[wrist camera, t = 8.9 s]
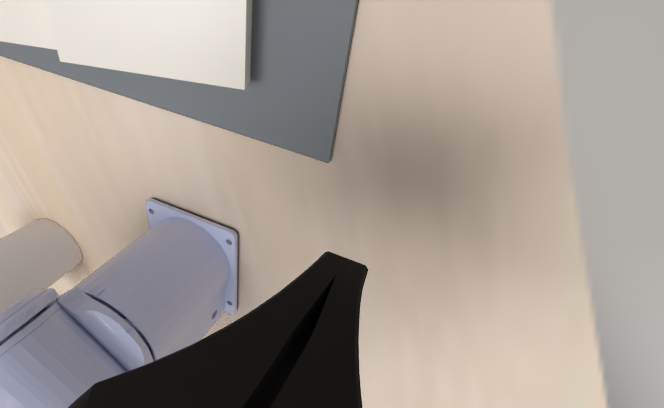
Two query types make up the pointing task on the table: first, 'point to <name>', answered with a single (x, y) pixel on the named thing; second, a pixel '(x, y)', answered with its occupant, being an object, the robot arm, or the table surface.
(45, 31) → the domino
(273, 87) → the felt mat
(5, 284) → the drinking glass
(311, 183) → the table surface
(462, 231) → the table surface
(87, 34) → the domino
